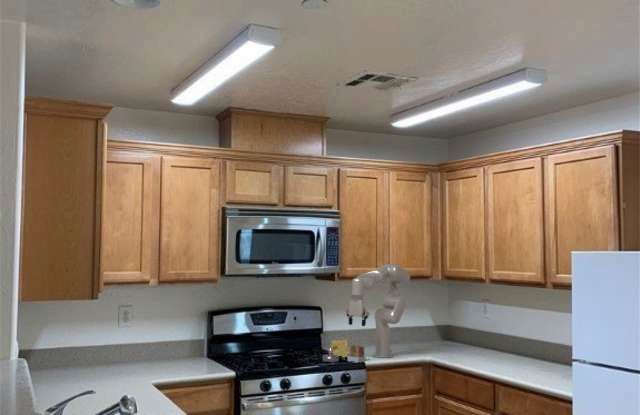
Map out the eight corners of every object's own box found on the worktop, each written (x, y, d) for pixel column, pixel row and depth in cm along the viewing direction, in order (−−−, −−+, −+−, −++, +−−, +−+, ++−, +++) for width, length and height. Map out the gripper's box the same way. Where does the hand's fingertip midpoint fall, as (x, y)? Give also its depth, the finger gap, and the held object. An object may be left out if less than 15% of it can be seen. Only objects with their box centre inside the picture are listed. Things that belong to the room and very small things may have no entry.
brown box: (354, 355, 391) (355, 345, 392) (364, 356, 387) (364, 346, 388) (348, 356, 386) (348, 346, 386) (358, 357, 381) (358, 347, 382)
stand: (354, 359, 392) (354, 345, 392) (365, 361, 387) (365, 346, 388) (347, 361, 385) (347, 346, 386) (358, 362, 380) (358, 347, 381)
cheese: (347, 357, 399) (348, 342, 400) (331, 357, 399) (331, 341, 400) (347, 355, 409) (347, 340, 410) (331, 354, 410) (331, 339, 411)
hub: (328, 358, 391) (329, 346, 392) (341, 360, 385) (342, 347, 386) (319, 360, 383) (319, 347, 384) (332, 362, 377) (332, 349, 378)
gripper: (343, 297, 392) (342, 324, 390) (366, 298, 381) (365, 326, 380) (349, 297, 398) (348, 323, 396) (372, 298, 388) (371, 326, 386)
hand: (357, 325), depth 388 cm, fingers open, 9 cm apart
